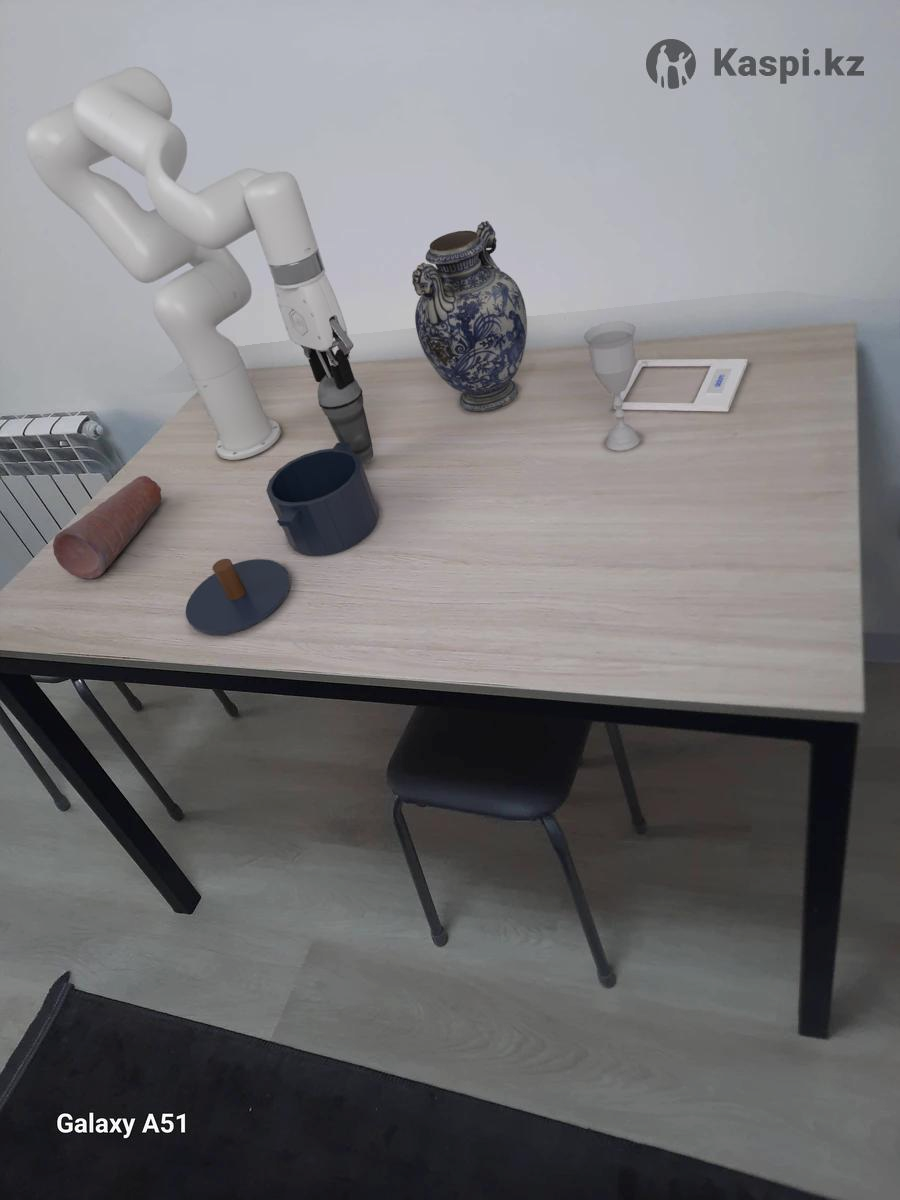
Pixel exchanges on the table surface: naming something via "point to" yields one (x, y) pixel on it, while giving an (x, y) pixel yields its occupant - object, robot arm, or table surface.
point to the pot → (324, 501)
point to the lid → (237, 595)
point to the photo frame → (712, 392)
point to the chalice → (614, 372)
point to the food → (106, 529)
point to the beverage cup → (346, 414)
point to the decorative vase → (471, 318)
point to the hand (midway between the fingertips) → (335, 380)
